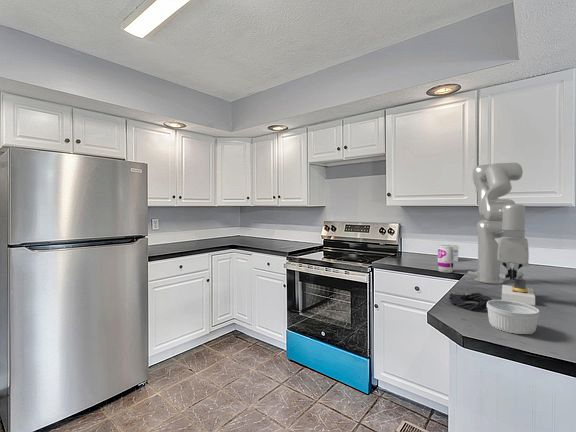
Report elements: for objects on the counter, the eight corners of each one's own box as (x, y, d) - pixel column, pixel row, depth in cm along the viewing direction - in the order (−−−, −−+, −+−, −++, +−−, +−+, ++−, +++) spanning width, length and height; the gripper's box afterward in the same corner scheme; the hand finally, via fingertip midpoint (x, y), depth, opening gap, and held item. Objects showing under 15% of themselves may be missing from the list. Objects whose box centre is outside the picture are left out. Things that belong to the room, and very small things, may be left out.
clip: (499, 277, 128) (499, 273, 128) (518, 274, 133) (518, 271, 133) (505, 278, 126) (505, 274, 126) (524, 276, 130) (525, 272, 130)
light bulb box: (441, 260, 218) (441, 245, 217) (440, 259, 224) (441, 244, 223) (458, 261, 213) (458, 246, 213) (457, 260, 220) (457, 245, 219)
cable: (493, 315, 107) (494, 303, 106) (448, 308, 113) (448, 297, 113) (488, 302, 122) (489, 291, 121) (449, 297, 128) (449, 286, 128)
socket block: (501, 300, 123) (502, 280, 123) (502, 291, 136) (502, 273, 136) (535, 305, 117) (535, 284, 117) (532, 295, 130) (532, 276, 130)
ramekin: (547, 340, 86) (547, 315, 86) (492, 333, 91) (492, 310, 90) (529, 323, 98) (530, 302, 98) (481, 318, 103) (482, 297, 103)
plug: (511, 298, 125) (512, 279, 125) (511, 295, 129) (512, 277, 129) (527, 301, 122) (528, 281, 122) (527, 298, 126) (527, 278, 126)
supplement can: (444, 273, 175) (445, 247, 174) (434, 270, 183) (434, 245, 182) (456, 272, 177) (456, 246, 177) (445, 269, 185) (446, 244, 184)
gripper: (490, 234, 125) (489, 278, 126) (537, 236, 117) (536, 283, 117) (491, 233, 131) (490, 275, 132) (535, 234, 123) (534, 280, 123)
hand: (512, 279), depth 124 cm, fingers closed
